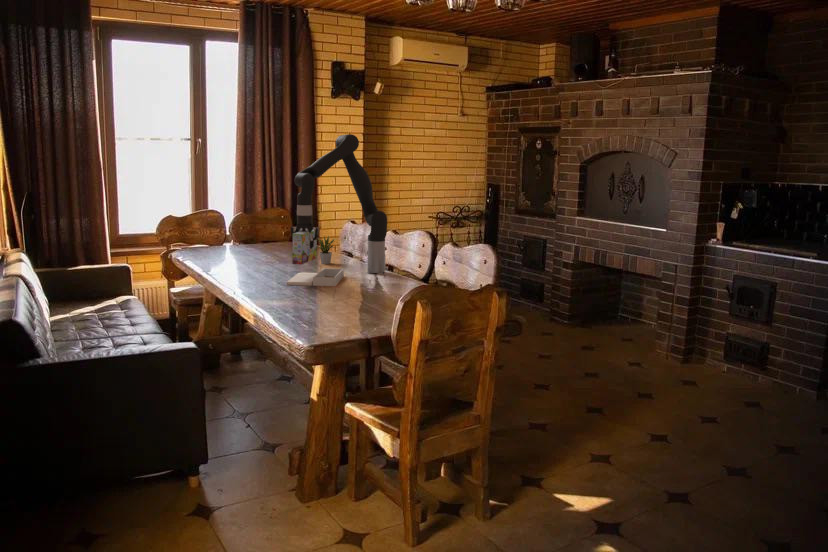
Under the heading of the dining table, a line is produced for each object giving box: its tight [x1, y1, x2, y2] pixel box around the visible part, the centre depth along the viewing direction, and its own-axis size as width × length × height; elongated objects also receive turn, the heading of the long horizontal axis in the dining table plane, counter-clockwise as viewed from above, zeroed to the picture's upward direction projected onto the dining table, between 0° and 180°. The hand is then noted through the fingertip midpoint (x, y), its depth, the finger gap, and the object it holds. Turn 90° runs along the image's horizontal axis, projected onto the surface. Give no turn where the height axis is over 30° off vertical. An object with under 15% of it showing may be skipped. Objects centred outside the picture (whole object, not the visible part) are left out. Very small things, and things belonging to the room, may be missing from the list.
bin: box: [312, 267, 345, 287], centre depth 346 cm, size 11×26×4 cm, turn 176°
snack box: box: [291, 229, 318, 265], centre depth 344 cm, size 21×6×15 cm, turn 169°
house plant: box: [317, 235, 338, 265], centre depth 395 cm, size 14×14×16 cm
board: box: [286, 271, 318, 286], centre depth 347 cm, size 12×26×2 cm, turn 176°
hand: (304, 248), depth 344 cm, fingers closed on snack box, 6 cm apart
